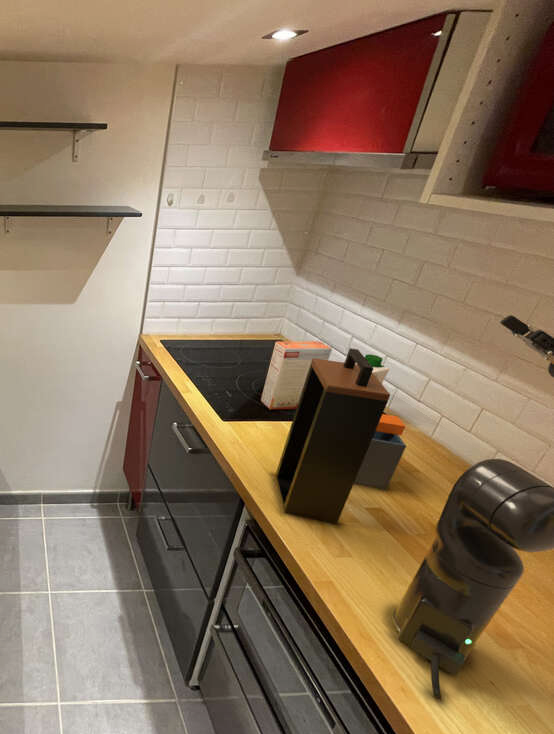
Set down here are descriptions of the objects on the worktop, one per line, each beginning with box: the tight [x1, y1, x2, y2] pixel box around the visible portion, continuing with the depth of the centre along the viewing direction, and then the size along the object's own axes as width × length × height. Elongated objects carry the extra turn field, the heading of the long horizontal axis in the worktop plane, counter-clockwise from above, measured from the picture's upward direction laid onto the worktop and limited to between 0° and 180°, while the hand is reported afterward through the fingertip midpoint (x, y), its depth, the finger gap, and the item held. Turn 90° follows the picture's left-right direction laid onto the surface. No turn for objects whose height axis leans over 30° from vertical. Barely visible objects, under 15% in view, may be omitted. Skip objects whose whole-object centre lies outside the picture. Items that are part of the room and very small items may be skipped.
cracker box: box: [260, 340, 333, 410], centre depth 136 cm, size 14×6×21 cm, turn 92°
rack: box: [274, 348, 391, 525], centre depth 95 cm, size 10×13×36 cm
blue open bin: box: [354, 431, 407, 490], centre depth 110 cm, size 13×13×13 cm
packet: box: [376, 413, 406, 436], centre depth 107 cm, size 14×4×3 cm, turn 71°
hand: (519, 326), depth 85 cm, fingers open, 8 cm apart
